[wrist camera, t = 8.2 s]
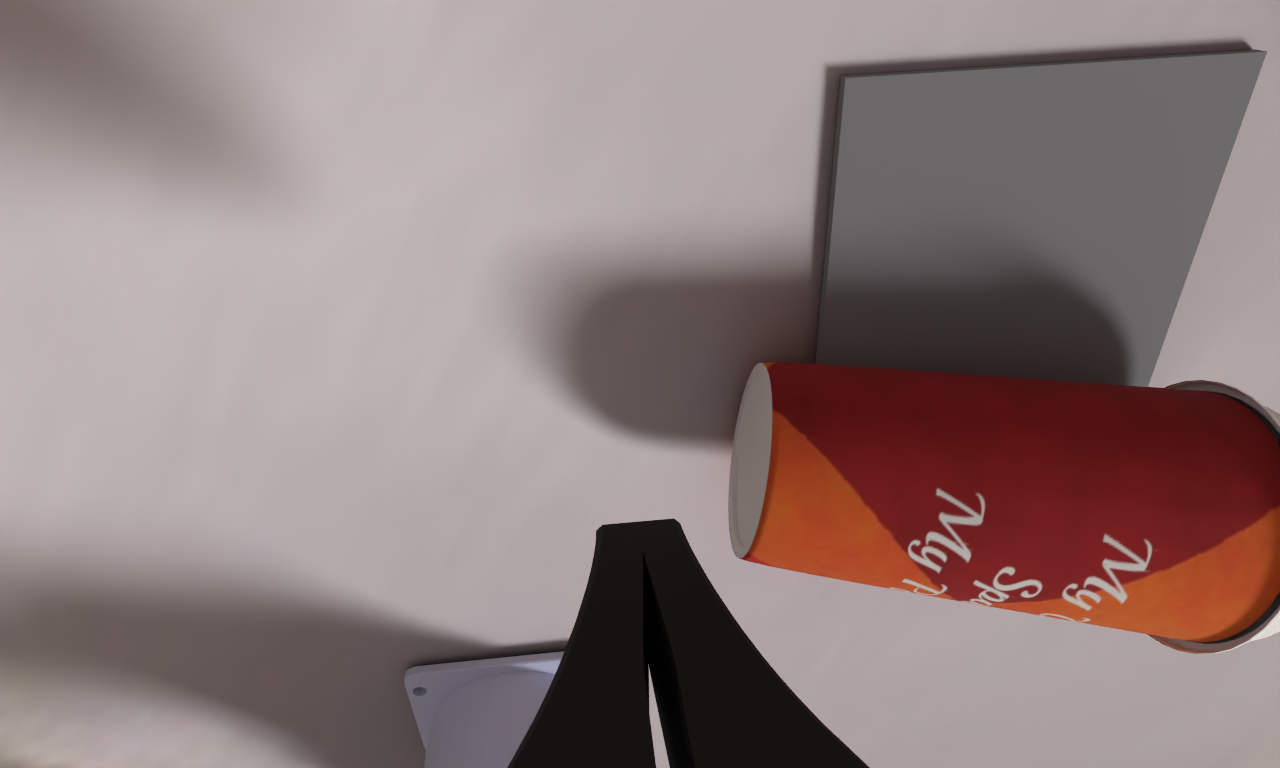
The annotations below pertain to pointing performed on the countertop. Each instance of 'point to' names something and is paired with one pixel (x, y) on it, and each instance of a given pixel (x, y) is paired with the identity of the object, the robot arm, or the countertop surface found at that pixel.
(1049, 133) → the mat
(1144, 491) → the paper cup
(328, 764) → the countertop surface
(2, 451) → the countertop surface
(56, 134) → the countertop surface
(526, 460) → the countertop surface
